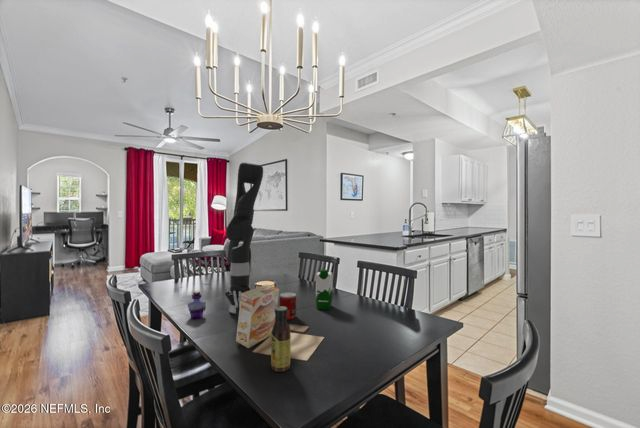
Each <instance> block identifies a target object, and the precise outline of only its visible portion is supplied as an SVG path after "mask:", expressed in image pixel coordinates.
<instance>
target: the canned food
mask: <svg viewBox="0 0 640 428" xmlns="http://www.w3.org/2000/svg"><path fill="white" fill-rule="evenodd" d="M280 306H284V307H287V321H289V320H290V321H291V320H295V319H296V317H297V293H295V292H288V291H287V292H281V293H279V307H280Z"/></svg>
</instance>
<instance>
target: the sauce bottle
mask: <svg viewBox="0 0 640 428" xmlns="http://www.w3.org/2000/svg"><path fill="white" fill-rule="evenodd" d="M287 321H288V320H287V307H284V306H280V305H279V306H277V307H276V308H275V323H274V326H273V329H272V332H271V355H270V365H271V369H272V370H273V371H274V372H278V373H281V372H286V371H288V370H289V369H290V367H291V359H290V347H291V336H290V332H291V331H290V326H289V323H288V322H287Z"/></svg>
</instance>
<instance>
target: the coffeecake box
mask: <svg viewBox="0 0 640 428" xmlns="http://www.w3.org/2000/svg"><path fill="white" fill-rule="evenodd" d="M279 298H280V288H277V287H275V286H272V285H270V284H265V285H261V286H258V287H256V288H253V289H250V290H249V291H246V292H243V293H241V301H240V309H239V317H238V318H237V319H238V320H237V328H236V329H237V330H236V337H235V342H236V343H239V344H240V345H242V346H243V347H245V348H247V349H250V348H251V347H253V346H255V345H257V344H258V343H260V342H262V341H265V340H266V339H268V338H269V337H270V336H271V332H272V329H273V326H274V323H275V308H276V307H278V302H279Z"/></svg>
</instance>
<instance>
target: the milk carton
mask: <svg viewBox="0 0 640 428" xmlns="http://www.w3.org/2000/svg"><path fill="white" fill-rule="evenodd" d="M333 284H334V283H333V272H332V271H331V272H330V271H328V269H320V270H319V271H317V273H316V274H315V304H316V305H315V306H316V310H331V307H332V302H333V293H334V292H333V286H334V285H333Z"/></svg>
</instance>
